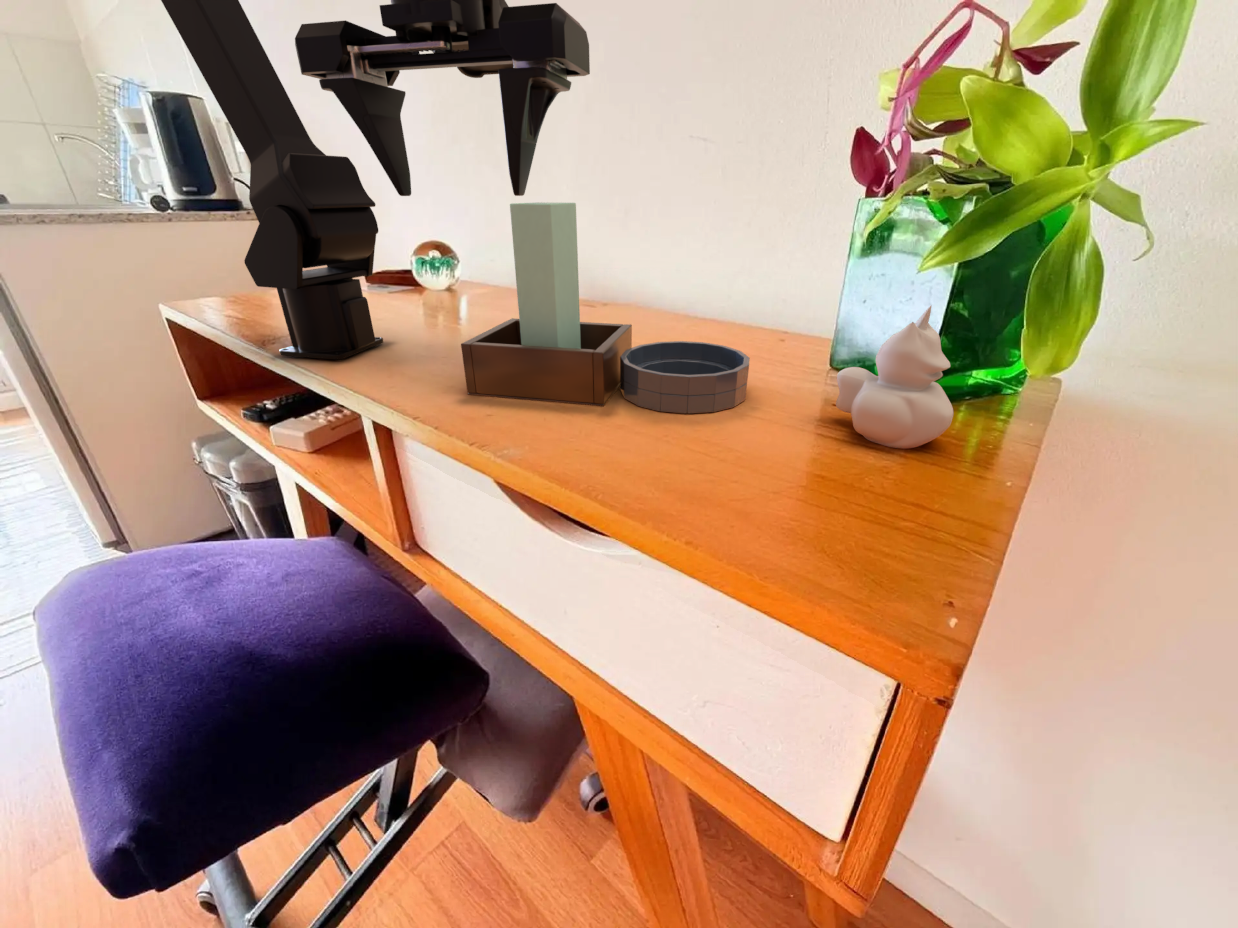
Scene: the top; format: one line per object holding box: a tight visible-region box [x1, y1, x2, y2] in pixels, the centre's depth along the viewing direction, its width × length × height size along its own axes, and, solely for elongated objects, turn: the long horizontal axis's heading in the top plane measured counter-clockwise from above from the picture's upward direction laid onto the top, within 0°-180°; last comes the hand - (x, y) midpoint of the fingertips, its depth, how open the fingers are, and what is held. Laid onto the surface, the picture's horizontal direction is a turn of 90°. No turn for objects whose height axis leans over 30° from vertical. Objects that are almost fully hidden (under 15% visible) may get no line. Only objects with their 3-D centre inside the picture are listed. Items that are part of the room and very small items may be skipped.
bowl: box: [619, 340, 751, 415], centre depth 38 cm, size 9×9×3 cm
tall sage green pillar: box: [509, 202, 581, 349], centre depth 38 cm, size 3×4×12 cm
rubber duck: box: [835, 305, 954, 450], centre depth 31 cm, size 5×7×8 cm
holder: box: [460, 317, 633, 407], centre depth 40 cm, size 10×8×4 cm
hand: (461, 195), depth 40 cm, fingers open, 9 cm apart
